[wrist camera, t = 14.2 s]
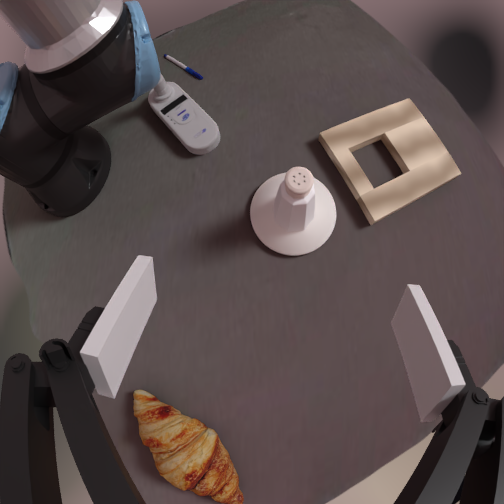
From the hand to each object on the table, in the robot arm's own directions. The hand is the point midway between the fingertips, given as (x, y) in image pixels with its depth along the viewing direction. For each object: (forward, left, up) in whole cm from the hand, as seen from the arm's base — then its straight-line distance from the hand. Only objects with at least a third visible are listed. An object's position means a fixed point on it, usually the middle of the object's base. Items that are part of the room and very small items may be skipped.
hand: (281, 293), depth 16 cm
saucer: (-9, +7, -24) cm, 27 cm away
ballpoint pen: (-41, +4, -25) cm, 48 cm away
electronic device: (-30, 0, -25) cm, 39 cm away
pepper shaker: (-9, +7, -24) cm, 26 cm away
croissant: (+13, -19, -25) cm, 34 cm away
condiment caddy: (-10, +24, -24) cm, 36 cm away
